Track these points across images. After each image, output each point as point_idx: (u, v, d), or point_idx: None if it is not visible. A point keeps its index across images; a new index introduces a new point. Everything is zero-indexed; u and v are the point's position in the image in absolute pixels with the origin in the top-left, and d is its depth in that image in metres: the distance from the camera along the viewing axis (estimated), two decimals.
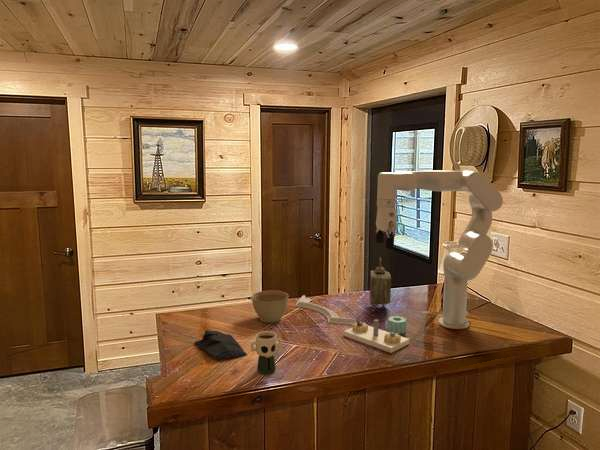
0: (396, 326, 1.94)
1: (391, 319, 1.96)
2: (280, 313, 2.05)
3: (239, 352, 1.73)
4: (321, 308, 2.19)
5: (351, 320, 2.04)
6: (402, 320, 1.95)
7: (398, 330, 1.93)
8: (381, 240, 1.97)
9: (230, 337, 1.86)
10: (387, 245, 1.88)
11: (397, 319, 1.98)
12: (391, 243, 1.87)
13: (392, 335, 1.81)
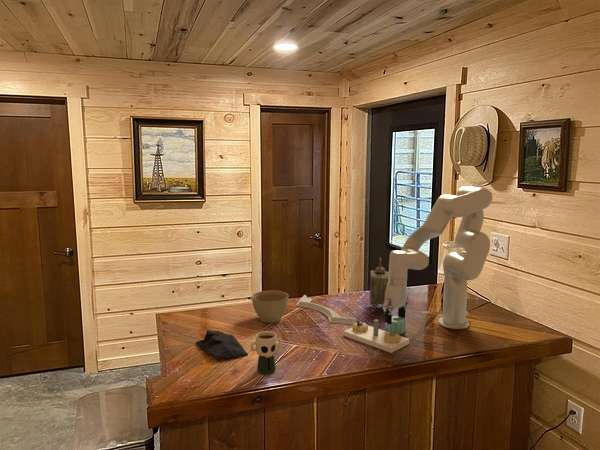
0: (395, 326, 1.93)
1: None
2: (280, 313, 2.05)
3: (240, 352, 1.72)
4: (322, 308, 2.20)
5: (352, 320, 2.05)
6: (401, 320, 1.95)
7: (397, 330, 1.93)
8: None
9: (231, 337, 1.86)
10: None
11: (396, 319, 1.98)
12: None
13: (392, 335, 1.81)
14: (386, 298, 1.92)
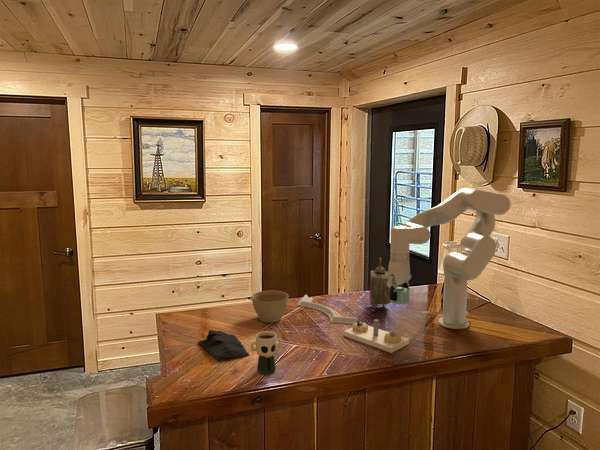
0: (399, 296, 1.91)
1: None
2: (280, 313, 2.05)
3: (241, 352, 1.72)
4: (323, 307, 2.20)
5: (353, 319, 2.05)
6: (405, 290, 1.93)
7: (401, 300, 1.91)
8: None
9: (233, 337, 1.86)
10: None
11: (400, 290, 1.96)
12: None
13: (392, 335, 1.81)
14: (389, 274, 1.91)
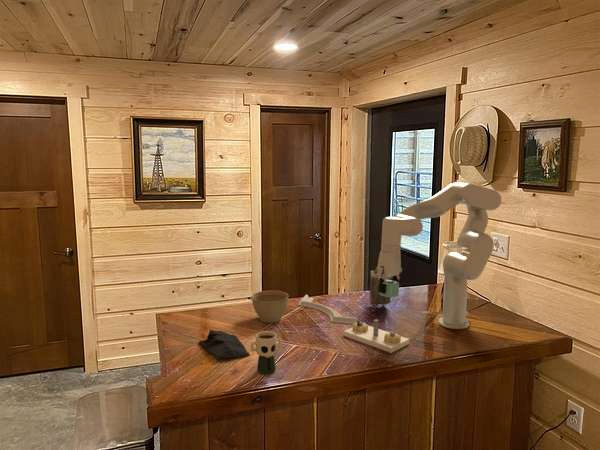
0: (388, 289, 1.87)
1: None
2: (280, 313, 2.05)
3: (242, 352, 1.72)
4: (324, 307, 2.20)
5: (354, 319, 2.05)
6: (394, 283, 1.88)
7: (390, 293, 1.86)
8: None
9: (234, 337, 1.86)
10: None
11: (389, 282, 1.91)
12: None
13: (392, 335, 1.81)
14: (379, 266, 1.86)
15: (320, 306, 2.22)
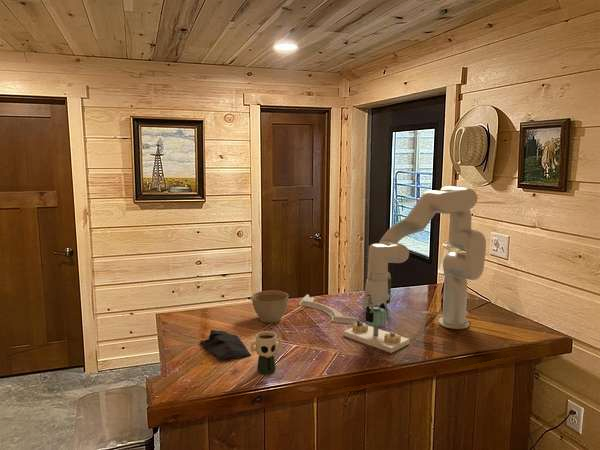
0: (375, 317, 1.83)
1: None
2: (280, 313, 2.05)
3: (243, 353, 1.72)
4: (325, 307, 2.21)
5: (355, 319, 2.06)
6: (382, 311, 1.84)
7: (377, 322, 1.83)
8: None
9: (235, 337, 1.86)
10: None
11: (377, 310, 1.87)
12: None
13: (392, 335, 1.81)
14: (366, 294, 1.82)
15: (321, 306, 2.23)
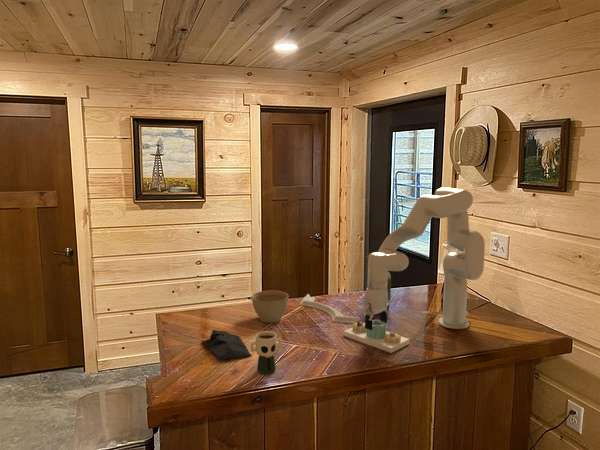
0: (375, 330, 1.83)
1: None
2: (280, 313, 2.05)
3: (243, 353, 1.72)
4: (325, 307, 2.21)
5: (355, 319, 2.06)
6: (382, 324, 1.85)
7: (377, 335, 1.83)
8: None
9: (236, 337, 1.86)
10: None
11: None
12: None
13: (392, 335, 1.81)
14: (366, 303, 1.83)
15: (322, 306, 2.23)
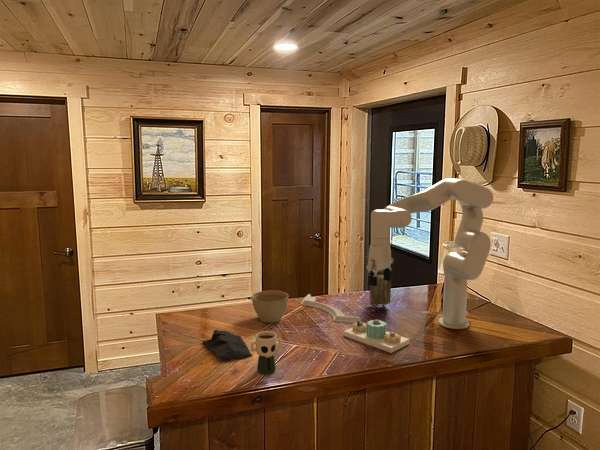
0: (375, 330, 1.83)
1: (370, 323, 1.86)
2: (280, 313, 2.05)
3: (244, 353, 1.72)
4: (326, 307, 2.21)
5: (356, 318, 2.06)
6: (382, 324, 1.85)
7: (377, 335, 1.83)
8: None
9: (238, 337, 1.86)
10: None
11: None
12: None
13: (392, 335, 1.81)
14: (370, 260, 1.85)
15: (323, 305, 2.23)
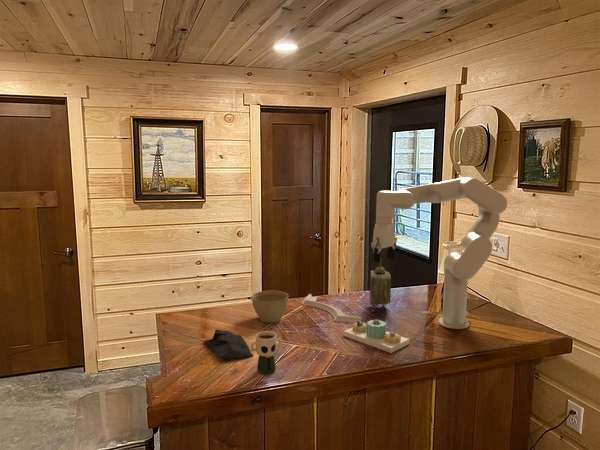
0: (375, 330, 1.83)
1: (370, 323, 1.86)
2: (280, 313, 2.05)
3: (245, 353, 1.71)
4: (327, 306, 2.22)
5: (357, 318, 2.07)
6: (382, 324, 1.85)
7: (377, 335, 1.83)
8: None
9: (239, 337, 1.85)
10: None
11: None
12: None
13: (392, 335, 1.81)
14: (374, 237, 1.96)
15: (323, 305, 2.24)
